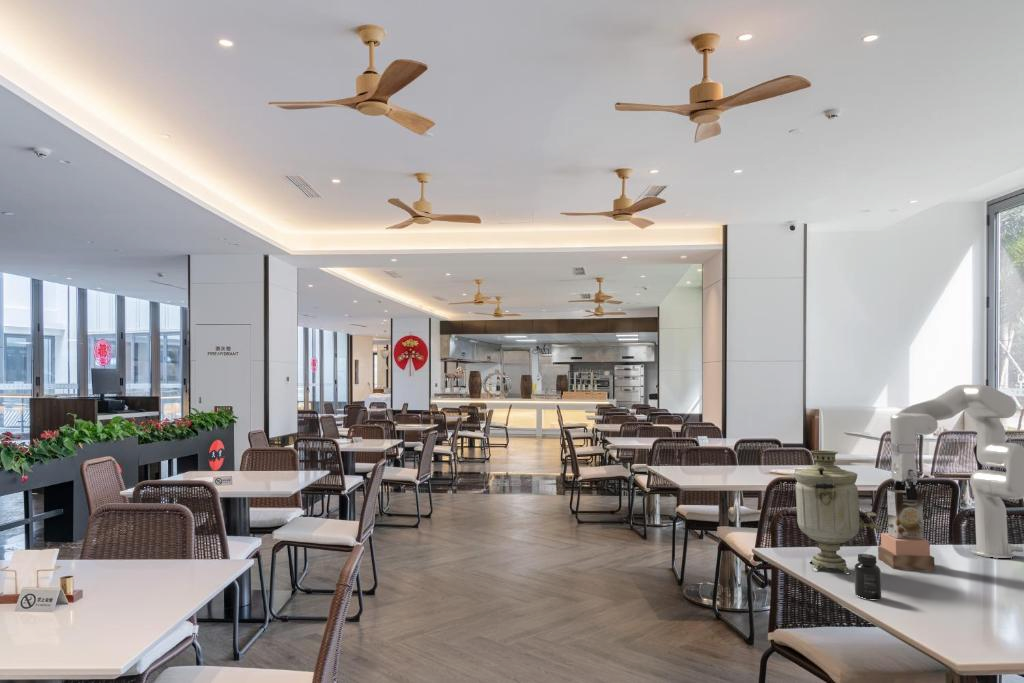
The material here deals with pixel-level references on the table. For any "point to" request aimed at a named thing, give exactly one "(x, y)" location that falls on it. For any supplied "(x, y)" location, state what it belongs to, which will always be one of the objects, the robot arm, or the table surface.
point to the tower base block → (906, 561)
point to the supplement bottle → (867, 577)
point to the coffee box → (904, 515)
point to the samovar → (828, 508)
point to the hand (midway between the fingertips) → (905, 497)
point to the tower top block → (905, 545)
